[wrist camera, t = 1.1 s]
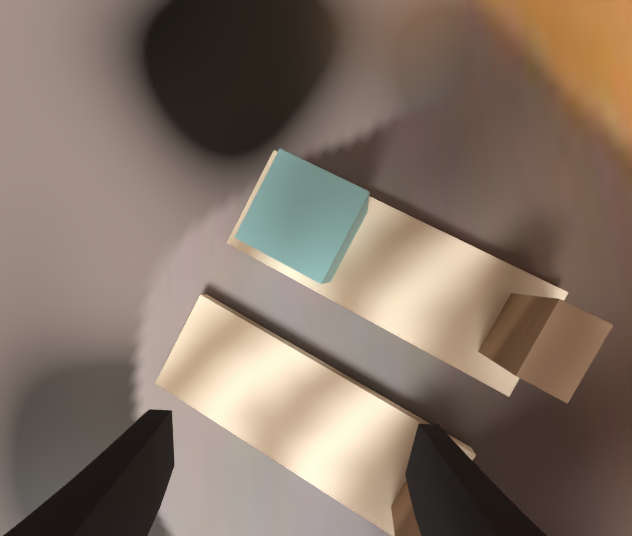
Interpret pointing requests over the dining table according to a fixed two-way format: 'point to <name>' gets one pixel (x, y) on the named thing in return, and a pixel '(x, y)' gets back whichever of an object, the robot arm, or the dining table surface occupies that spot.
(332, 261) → the teal block
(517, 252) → the dining table surface
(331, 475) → the empty strip
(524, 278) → the strip
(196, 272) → the dining table surface
